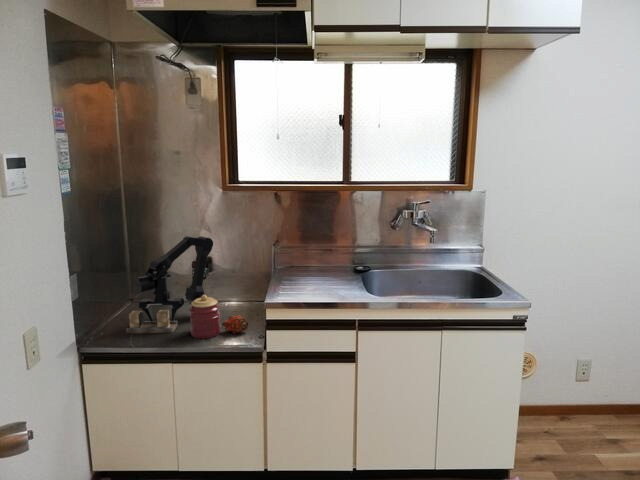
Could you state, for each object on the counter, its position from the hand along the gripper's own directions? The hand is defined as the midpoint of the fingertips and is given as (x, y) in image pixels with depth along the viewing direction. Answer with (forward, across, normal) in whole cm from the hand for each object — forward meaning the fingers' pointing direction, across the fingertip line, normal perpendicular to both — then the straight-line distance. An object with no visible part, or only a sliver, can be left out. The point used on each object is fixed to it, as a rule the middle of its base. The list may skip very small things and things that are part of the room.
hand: (162, 321), depth 204 cm
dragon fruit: (+4, -33, +6) cm, 34 cm away
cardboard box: (+3, 0, 0) cm, 3 cm away
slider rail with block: (+4, +5, 0) cm, 6 cm away
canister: (+4, -20, +6) cm, 22 cm away
